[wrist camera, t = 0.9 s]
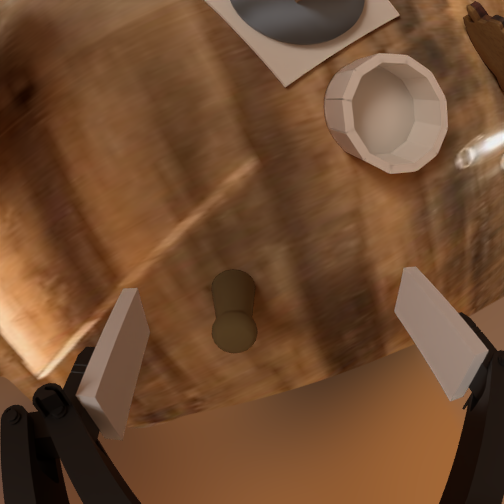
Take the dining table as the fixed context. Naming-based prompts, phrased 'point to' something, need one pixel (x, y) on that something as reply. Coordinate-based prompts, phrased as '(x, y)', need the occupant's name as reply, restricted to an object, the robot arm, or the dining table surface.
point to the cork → (233, 311)
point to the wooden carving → (487, 38)
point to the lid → (300, 18)
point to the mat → (302, 56)
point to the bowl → (387, 112)
